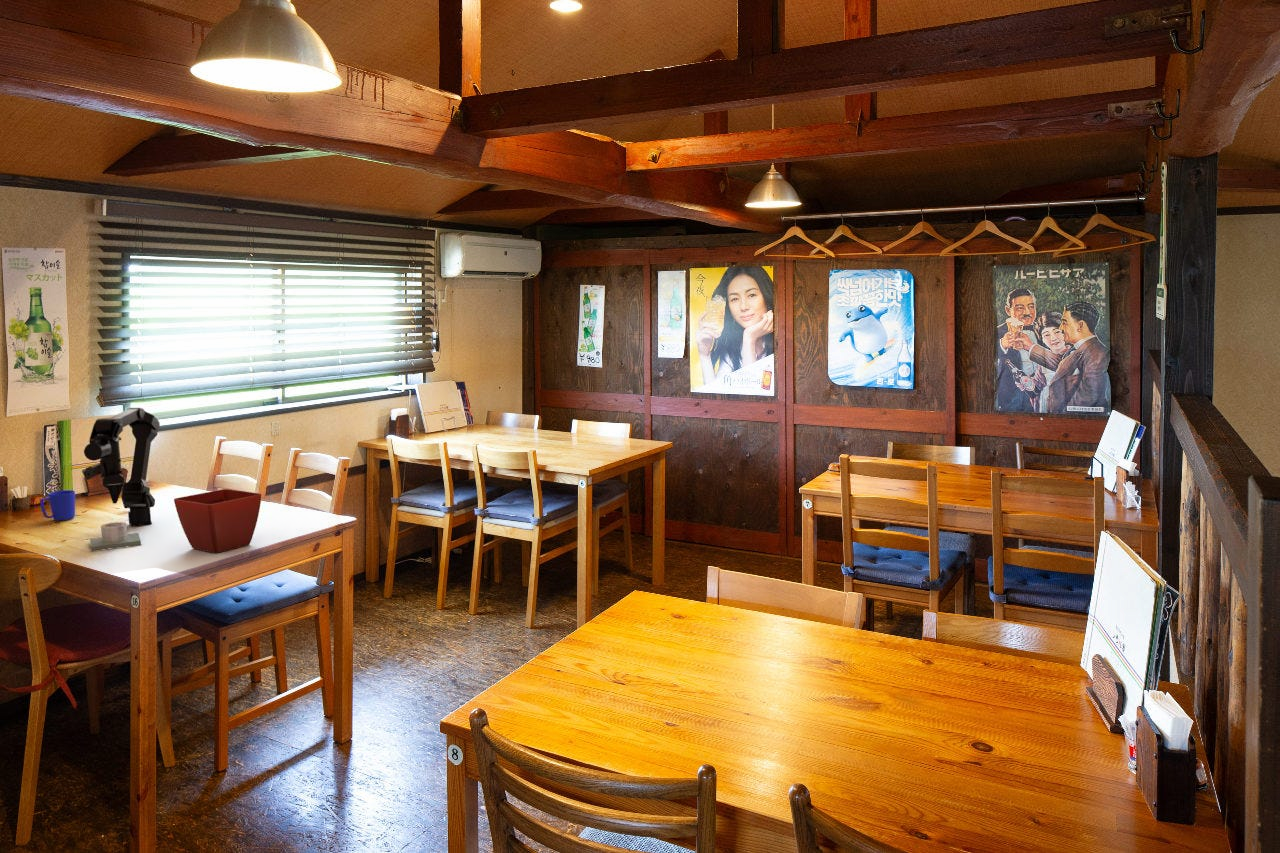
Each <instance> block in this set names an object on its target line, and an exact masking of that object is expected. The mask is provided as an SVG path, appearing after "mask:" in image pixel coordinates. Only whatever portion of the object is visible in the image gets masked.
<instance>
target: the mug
mask: <svg viewBox="0 0 1280 853" xmlns="http://www.w3.org/2000/svg"><path fill="white" fill-rule="evenodd" d="M46 500H47V501H48V500H49V505H50V510H51V514H52V515H50V516H48V514H47V511H46V509H45V504H44V502H45V501H46ZM39 503H40V504H39V505H40V508H41V512H42V515H43V517H44V518H46V519H52V518H53V520H54V521H57V520H63V521H68V519H69V520H72V519H74V518H75V517H76V491H75V490H71V489H70V490H69V489H68V490H57V491H52V492H49V493H48V497H44V498H43V497H42V498H40V499H39Z"/></svg>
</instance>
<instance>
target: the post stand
mask: <svg viewBox="0 0 1280 853" xmlns="http://www.w3.org/2000/svg"><path fill="white" fill-rule="evenodd" d="M118 525H119V524H111V525H109V527H111V526H118ZM139 534H140V533H139V532H135V533H127V537H128V539H126V540H124V541H119V542H111V543H106V542H102V536H99V537H94V538H90V539H89V542H90V543H89V544H90V551H91V552H95V551H94V550H99V551H103V550H102V549H106V550H109V549H108V548H114V549H118V548H117V547H122V548H127V547H126V546H130V547H135V545H137V546H142V541H141V538H140V535H139Z"/></svg>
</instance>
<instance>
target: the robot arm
mask: <svg viewBox="0 0 1280 853" xmlns="http://www.w3.org/2000/svg"><path fill="white" fill-rule="evenodd" d="M160 425H161V424H160V421H159V420H158V419H157V417H156V416H155V415H153V414H151V413H149V412H148V411H146V410H145V409H144V408H143V407H142V408H141V407H128V408H127V409H126V410H123V411H122V412H120V413H118V414H116V415H114V416H110V417H102V418H97V419H96V420H95V422H94V423H93V426H92V430H91V433H90V437H89V440H88V444H86V446H85V447H84V450H83V454H84V456H85V458H86V459H87V460H90V461H93V462H94V461H98V460H99V463H96V464H93V465H90V466H88V467H85V468H84V469H82V470H81V472H82V474H83V476H84V478H85V480H86V481H89V480H92V478H94V477H97V476H99V475H100V477H101V482H102V486H103V487H104V488H106V489H107V490H108V492H109V495H110V499H111V502H112V504H114V505H115V504H117V503H118V500H119V498H120V497H121V501H122V505H123V508H124V509H129V511H127V515H128V516H127V517H128V524H129V525H130V527H137V526H146V525H152V524H153V522H152V518H151V517H152V516H151V508H154V507H155V504H156V499H155V497H154V496H153V494H152V493H151V491H150V490H151V489H150V486H149V484H148V483H147V474H148V468H149V459H150V453H151V446H152V445H151V444H152V441H153V440H155V438H156V437H157V436H158V433H159V429H160ZM126 426H129V427H130V428H131V433H132V435H133V437H134V439H135V444H134V451H133V458H132V464H131V474H130V479H129V480H128V481H127V482H126V481H125V478H124V475H123V471H122V465H121V464H122V462H121V461H122V459H121V450H120V441H122V437H121V436H120V434H122V432H124V428H125V427H126ZM120 495H121V496H120Z"/></svg>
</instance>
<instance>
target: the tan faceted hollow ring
mask: <svg viewBox="0 0 1280 853" xmlns="http://www.w3.org/2000/svg"><path fill="white" fill-rule="evenodd" d="M111 524H119V525H118V526H111V527H109V525H111ZM127 527H128V526H127V522H124V521H115V522H109V523H105V524H104V523H103V524H101V525H100V531H101V533H100V534H101V537H102V542H106V543H111V542H119V541H124V540H126V539H128V537H127V534H128V529H127Z"/></svg>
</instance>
